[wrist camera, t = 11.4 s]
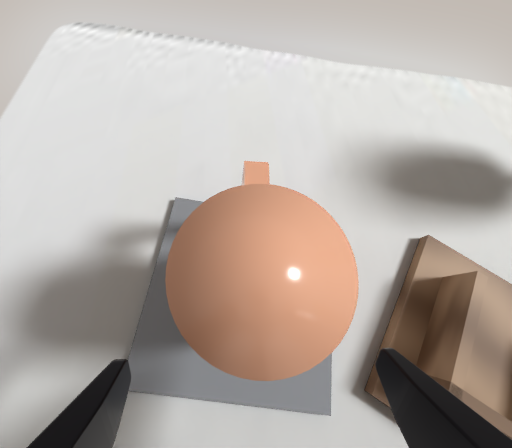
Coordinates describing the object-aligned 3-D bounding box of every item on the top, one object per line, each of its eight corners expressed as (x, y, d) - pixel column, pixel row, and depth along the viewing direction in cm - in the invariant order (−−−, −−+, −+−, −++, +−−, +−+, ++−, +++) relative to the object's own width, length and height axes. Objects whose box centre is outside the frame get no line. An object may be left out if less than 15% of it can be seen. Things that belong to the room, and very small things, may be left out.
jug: (287, 339, 17) (374, 375, 7) (198, 341, 17) (151, 386, 6) (281, 224, 20) (335, 135, 10) (206, 222, 20) (183, 124, 10)
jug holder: (551, 519, 16) (652, 583, 12) (364, 390, 17) (402, 411, 13) (565, 325, 21) (640, 327, 17) (420, 238, 22) (459, 222, 18)
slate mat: (327, 412, 16) (330, 415, 16) (122, 387, 16) (119, 389, 15) (331, 226, 22) (333, 224, 21) (176, 199, 21) (175, 197, 20)
